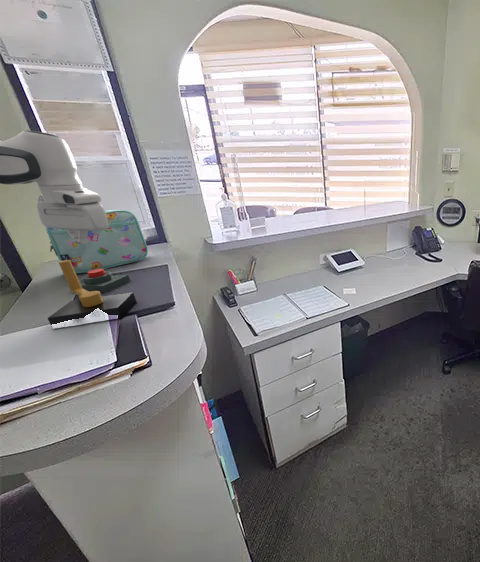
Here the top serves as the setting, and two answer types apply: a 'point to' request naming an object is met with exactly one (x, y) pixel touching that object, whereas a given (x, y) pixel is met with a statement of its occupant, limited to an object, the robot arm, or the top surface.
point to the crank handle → (79, 286)
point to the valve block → (110, 305)
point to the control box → (103, 282)
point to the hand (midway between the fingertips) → (81, 243)
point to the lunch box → (102, 244)
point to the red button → (96, 273)
